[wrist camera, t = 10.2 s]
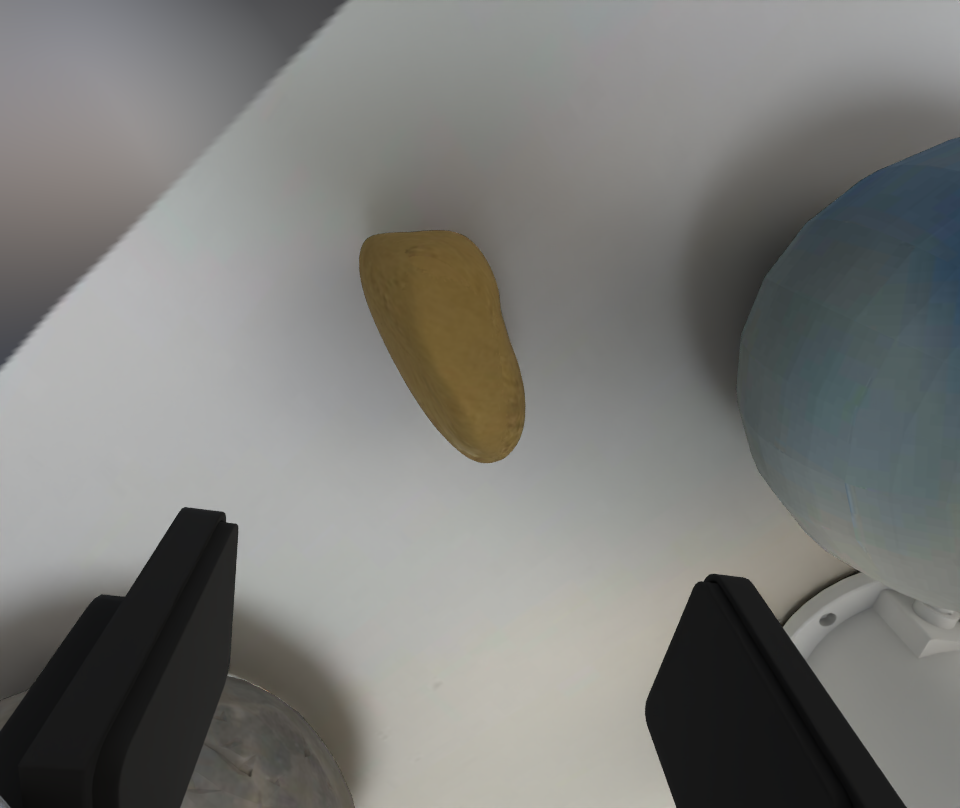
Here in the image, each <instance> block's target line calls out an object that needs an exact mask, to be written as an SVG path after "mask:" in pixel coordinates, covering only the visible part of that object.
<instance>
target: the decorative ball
mask: <svg viewBox="0 0 960 808" xmlns="http://www.w3.org/2000/svg"><path fill="white" fill-rule="evenodd" d="M736 388H737V403H738V407H739V410H740V414H741V418H742V421H743V425H744V429H745V432H746V436H747V440H748V443H749V447H750V451H751V454H752V456H753V459H754V461H755V464H756V466H757V469H758V471H759V473H760V474H761V476H762V477H763V478H764V480H765V481H766V483H767V484H768V485H769V487H770V488H771V489H772V491H773V492H774V493H775V495H776V496H777V497H778V498H779V500H780V501H781V502H782V503H783V505H784V506H785V507H786V509H787V510H788V511H789V512H790V514H791V515H792V516H793V517H794V519H795V520H796V521H797V522H798V524H799V525H800V526H801V528H802V529H803V530H804V531H805V532H806V533H807V534H808V535H809V536H810V537H811V538H812V539H813V540H814V541H815V542H817V543H818V544H819V545H820V546H821V547H822V548H823V549H824V550H825V551H827V552H828V553H830V554H832V555H833V556H835V557H837V558H838V559H840V560H841V561H843V562H845V563H846V564H848V565H850V566H851V567H853V568H855V569H857V570H858V571H860V572H862V573H864V574H866V575H868V576H869V577H871V578H873V579H875V580H877V581H879V582H881V583H882V584H884V585H886V586H888V587H890V588H892V589H893V590H895V591H897V592H899V593H901V594H903V595H906V596H908V597H911V598H913V599H916V600H918V601H921V602H923V603H926V604H928V605H931V606H933V607H938V608H943V609H947V610H952V611H956V612H960V137H959V138H955V139H952V140H949V141H946V142H944V143H942V144H939V145H937V146H934V147H932V148H930V149H927V150H925V151H923V152H920V153H918V154H916V155H913V156H911V157H909V158H906V159H904V160H902V161H899V162H897V163H894V164H892V165H890V166H887V167H885V168H883V169H880V170H878V171H876V172H874V173H873V174H871V175H869V176H867V177H866V178H864V179H862V180H861V181H859V182H858V183H857V184H855V185H854V186H853V187H852V188H850V189H849V190H848V191H847V192H845V193H844V194H843V195H841V196H840V197H839V198H838V199H836V200H835V201H834V202H833V203H831V204H830V205H829V206H827V207H826V208H825V209H824V210H822V211H821V212H820V213H819V214H817V215H816V216H815V217H813V218H812V219H811V220H810V221H808V222H807V223H806V224H805V225H804V226H803V228H802V229H801V230H800V232H799V233H798V234H797V235H796V237H795V238H794V239H793V241H792V242H791V243H790V245H789V246H788V247H787V249H786V250H785V251H784V252H783V254H782V255H781V256H780V258H779V259H778V260H777V262H776V263H775V264H774V266H773V267H772V268H771V269H770V271H769V272H768V273H767V275H766V276H765V277H764V280H763V282H762V285H761V287H760V289H759V292H758V294H757V297H756V299H755V302H754V304H753V307H752V309H751V311H750V314H749V316H748V319H747V321H746V324H745V326H744V329H743V331H742V333H741V342H740V354H739V365H738V376H737V387H736Z"/></svg>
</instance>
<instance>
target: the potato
mask: <svg viewBox="0 0 960 808" xmlns="http://www.w3.org/2000/svg"><path fill="white" fill-rule="evenodd" d="M359 271H360V278H361V283H362V288H363V291H364V295H365V298H366V301H367V304H368V307H369V309H370V312H371V314H372V317H373V319H374V322H375V324H376V326H377V328H378V331H379V333H380V335H381V337H382V339H383V341H384V343H385V346H386V348H387V350H388V351H389V353H390V355H391V357H392V359H393V361H394V363H395V365H396V367H397V368H398V370H399V372H400V374H401V376H402V378H403V379H404V381H405V383H406V385H407V386H408V388H409V390H410V391H411V393H412V394H413V396H414V398H415V399H416V401H417V402H418V404H419V405H420V407H421V408H422V410H423V411H424V413H425V414H426V415H427V417H428V418H429V419H430V421H431V422H432V423H433V425H434V426H435V427H436V428H437V430H438V431H439V432H440V433H441V434H442V435H443V436H444V437H445V438H446V439H447V441H448V442H450V443H451V444H452V445H453V446H454V447H455V448H456V449H457V450H458V451H459V452H461V453H462V454H463V455H465V456H466V457H468V458H470V459H472V460H474V461H477V462H480V463H492V462H496V461H499V460H502V459H504V458H505V457H506V456H508V455H509V453H510V452H511V451H512V450H513V449H514V448H515V446H516V445H517V443H518V441H519V439H520V437H521V434H522V431H523V427H524V421H525V393H524V386H523V381H522V376H521V372H520V368H519V365H518V362H517V359H516V356H515V353H514V351H513V348H512V345H511V343H510V340H509V337H508V334H507V331H506V327H505V324H504V320H503V317H502V313H501V308H500V299H499V291H498V287H497V283H496V280H495V277H494V274H493V272H492V270H491V268H490V265H489V264H488V262H487V260H486V259H485V257H484V255H483V254H482V252H481V251H480V250H479V249H478V247H477V246H476V245H475V244H474V243H473V242H472V241H471V240H469V239H468V238H467V237H465V236H463V235H461V234H459V233H456V232H452V231H445V230H430V231H417V232H395V233H382V234H376V235H373V236H371V237H369V238H367V239H366V240H365V242H364V243H363V245H362V247H361V251H360V256H359Z"/></svg>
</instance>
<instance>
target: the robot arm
mask: <svg viewBox="0 0 960 808" xmlns="http://www.w3.org/2000/svg"><path fill="white" fill-rule="evenodd" d="M237 543H238V525H237V524H233V523H226V516H225V513H224V512H219V511H211V510H203V509H195V508H187V507H184V508H182V509H181V511H180V512H179V513H178V515H177V516H176V518H175V519H174V521H173V523H172V524H171V526H170V527H169V529H168V530H167V532H166V534H165V535H164V537H163V538H162V540H161V541H160V543H159V545H158V546H157V548H156V549H155V551H154V552H153V554H152V556H151V557H150V559H149V560H148V562H147V563H146V565H145V567H144V568H143V570H142V571H141V573H140V574H139V576H138V578H137V579H136V581H135V582H134V584H133V585H132V587H131V589H130V590H129V592H128V593H127V595H126V596H125V597H121V596H111V595H102V594H101V595H100V596H98V597H96V598H95V599H94V600H93V601H92V602H91V603H90V604H89V606H88V607H87V608H86V610H85V611H84V612H83V614H82V615H81V617H80V618H79V620H78V621H77V622H76V624H75V625H74V627H73V628H72V629H71V631H70V632H69V634H68V635H67V637H66V638H65V639H64V641H63V642H62V644H61V645H60V647H59V648H58V649H57V651H56V652H55V654H54V655H53V657H52V658H51V659H50V661H49V662H48V664H47V665H46V667H45V668H44V669H43V671H42V672H41V674H40V675H39V677H38V678H37V679H36V681H35V682H34V684H33V685H32V686H31V688H30V689H29V691H28V692H27V694H26V695H25V696H24V698H23V699H22V701H21V702H20V704H19V705H18V706H17V708H16V709H15V711H14V712H13V714H12V715H11V716H10V718H9V719H8V721H7V722H6V724H5V725H4V726H3V728H2V729H1V731H0V808H180V807H181V804H182V802H183V799H184V796H185V793H186V791H187V788H188V785H189V782H190V780H191V777H192V774H193V771H194V769H195V766H196V763H197V760H198V758H199V755H200V752H201V749H202V747H203V744H204V741H205V738H206V736H207V733H208V730H209V727H210V724H211V722H212V719H213V716H214V713H215V711H216V708H217V705H218V702H219V700H220V697H221V694H222V691H223V689H224V686H225V682H226V679H227V675H228V670H229V664H230V652H231V637H232V621H233V606H234V590H235V574H236V559H237ZM645 716H646V722H647V726H648V729H649V732H650V734H651V737H652V740H653V743H654V746H655V749H656V751H657V754H658V757H659V760H660V763H661V765H662V768H663V771H664V774H665V777H666V780H667V782H668V785H669V788H670V791H671V794H672V796H673V799H674V802H675V805H676V808H960V612H956V611H952V610H947V609H943V608H938V607H933V606H931V605H928V604H926V603H923V602H921V601H918V600H916V599H913V598H911V597H908V596H906V595H903V594H901V593H899V592H897V591H895V590H893V589H892V588H890V587H888V586H886V585H884V584H882V583H881V582H879V581H877V580H875V579H873V578H871V577H869V576H868V575H866V574H864V573H862V572H861V573H858V574H856V575H853V576H850V577H848V578H845V579H843V580H841V581H839V582H837V583H835V584H834V585H832V586H830V587H828V588H826V589H824V590H823V591H821V592H820V593H819V594H817V595H816V596H814V597H813V598H812V599H810V600H809V601H807V602H806V603H805V604H804V605H803V606H802V607H801V608H800V609H799V610H798V611H797V612H795V613H794V614H793V615H792V616H791V617H790V618H789V620H788V621H787V622H786V624H785V625H784V626H783V627H782V626H781V624H780V623H779V621H778V620H777V618H776V617H775V615H774V614H773V613H772V611H771V610H770V608H769V607H768V605H767V604H766V602H765V601H764V599H763V598H762V597H761V595H760V594H759V592H758V591H757V589H756V588H755V586H754V585H753V584H752V583H751V582H750V580H749V579H746V578H743V577H735V576H727V575H719V574H710V575H709V576H707V577H706V578H705V580H704V582H702V581H701V582H698V583H697V584H695V586H694V588H693V590H692V592H691V595H690V597H689V600H688V602H687V604H686V607H685V609H684V612H683V614H682V616H681V619H680V621H679V624H678V626H677V628H676V631H675V633H674V636H673V638H672V640H671V643H670V645H669V647H668V650H667V652H666V655H665V657H664V659H663V662H662V664H661V667H660V669H659V671H658V674H657V676H656V679H655V681H654V683H653V686H652V688H651V690H650V693H649V695H648V698H647V701H646V706H645Z"/></svg>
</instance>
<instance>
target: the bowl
mask: <svg viewBox="0 0 960 808" xmlns="http://www.w3.org/2000/svg"><path fill="white" fill-rule="evenodd" d="M28 691H29V690H27V691H25V692H22V693H19V694H17V695H14V696H11V697H9V698H6V699H3V700H1V701H0V731H1V729H2V728H3V726H4V725H5V724H6V722H7V721H8V719H9V718H10V716H11V715H12V714H13V712H14V711H15V709H16V708H17V706H18V705H19V704H20V702H21V701H22V699H23V698H24V696H25V695H26V694H27V692H28ZM180 808H355V806H354V802H353V798H352V795H351V793H350V791H349V788H348V786H347V784H346V782H345V780H344V778H343V775H342V773H341V771H340V769H339V767H338V765H337V763H336V761H335V760H334V758H333V756H332V754H331V753H330V752H329V750H328V749H327V747H326V746H325V744H324V743H323V741H322V740H321V739H320V737H319V736H318V735H317V733H316V732H315V731H314V730H313V729H312V727H311V726H310V725H309V724H308V723H307V722H306V721H305V720H304V718H303V717H302V716H301V715H300V714H299V713H298V712H297V711H295V710H294V709H293V708H291V707H290V706H289V705H287V704H286V703H285V702H283V701H282V700H280V699H279V698H278V697H276V696H275V695H274V694H272V693H270V692H268V691H265V690H263V689H261V688H259V687H257V686H255V685H253V684H251V683H249V682H247V681H245V680H241V679H237V678H233V677H229V676H227V679H226V682H225V686H224V689H223V691H222V694H221V697H220V700H219V702H218V705H217V708H216V711H215V713H214V716H213V719H212V722H211V724H210V727H209V730H208V733H207V736H206V738H205V741H204V744H203V747H202V749H201V752H200V755H199V758H198V760H197V763H196V766H195V769H194V771H193V774H192V777H191V780H190V782H189V785H188V788H187V791H186V793H185V796H184V799H183V802H182V804H181V807H180Z"/></svg>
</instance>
